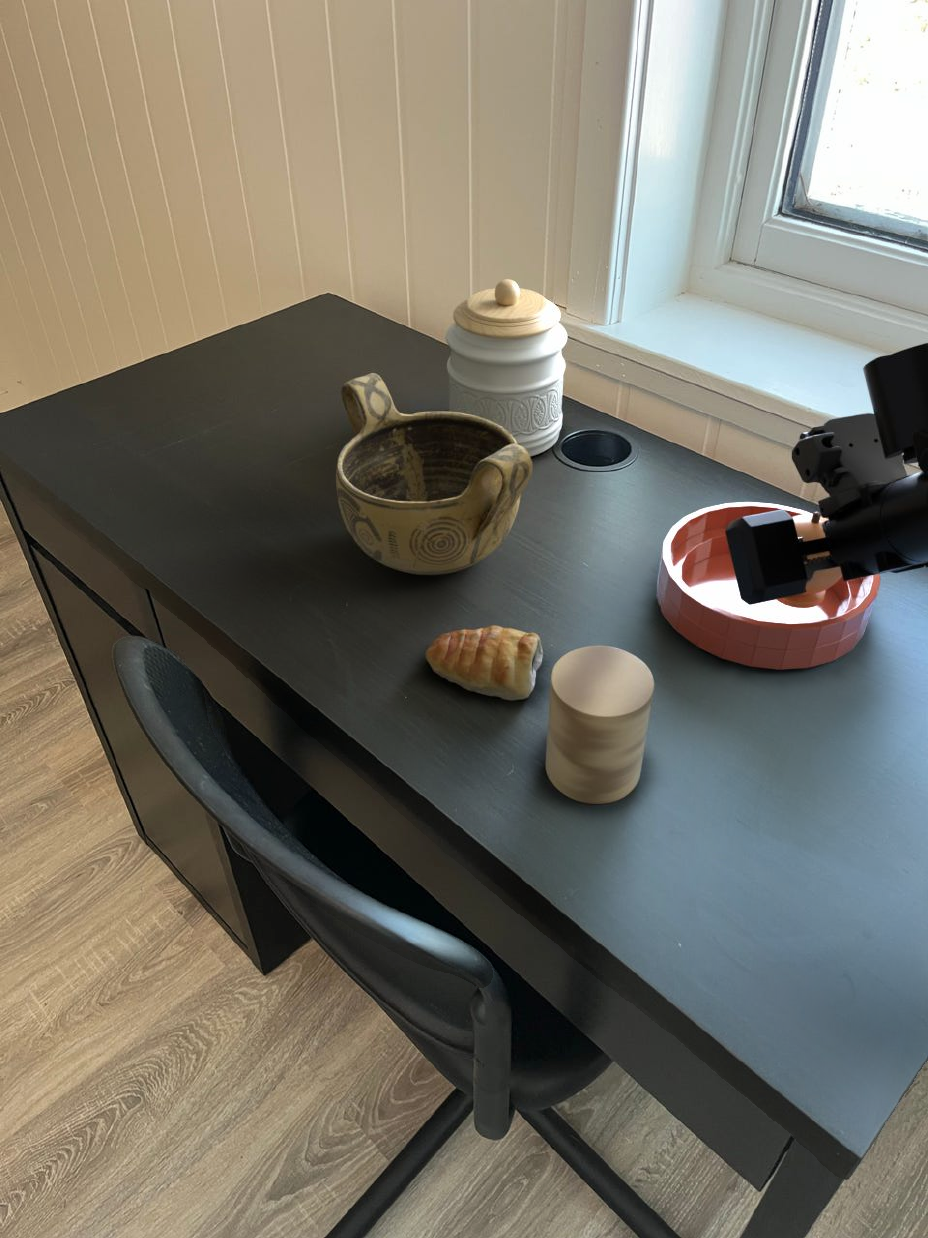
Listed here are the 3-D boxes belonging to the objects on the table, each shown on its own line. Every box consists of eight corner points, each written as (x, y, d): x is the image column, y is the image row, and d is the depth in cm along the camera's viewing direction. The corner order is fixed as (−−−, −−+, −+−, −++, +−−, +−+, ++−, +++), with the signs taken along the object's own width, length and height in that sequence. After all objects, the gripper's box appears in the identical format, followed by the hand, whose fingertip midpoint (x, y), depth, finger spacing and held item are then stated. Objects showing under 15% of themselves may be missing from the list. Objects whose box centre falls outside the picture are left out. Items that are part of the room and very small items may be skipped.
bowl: (877, 574, 87) (892, 529, 84) (847, 700, 75) (863, 653, 72) (686, 528, 93) (693, 485, 90) (629, 637, 81) (635, 592, 78)
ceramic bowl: (578, 567, 89) (589, 424, 79) (442, 650, 80) (436, 501, 71) (426, 475, 102) (419, 342, 92) (294, 538, 93) (271, 399, 83)
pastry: (418, 690, 77) (416, 655, 74) (437, 637, 82) (436, 602, 79) (532, 706, 75) (534, 671, 73) (545, 651, 80) (547, 616, 78)
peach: (853, 602, 77) (879, 522, 72) (792, 625, 75) (814, 545, 70) (799, 560, 81) (820, 482, 76) (740, 581, 79) (757, 502, 74)
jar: (489, 396, 115) (490, 249, 104) (582, 425, 109) (593, 273, 98) (425, 441, 107) (418, 287, 96) (522, 474, 101) (526, 315, 90)
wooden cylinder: (652, 749, 71) (666, 662, 66) (622, 817, 67) (636, 729, 61) (565, 721, 74) (572, 634, 68) (531, 784, 69) (535, 697, 63)
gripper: (1007, 381, 65) (869, 446, 80) (763, 422, 61) (667, 482, 76) (1048, 539, 64) (901, 574, 79) (804, 591, 60) (698, 617, 75)
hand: (793, 559), depth 77 cm, fingers closed on peach, 6 cm apart
